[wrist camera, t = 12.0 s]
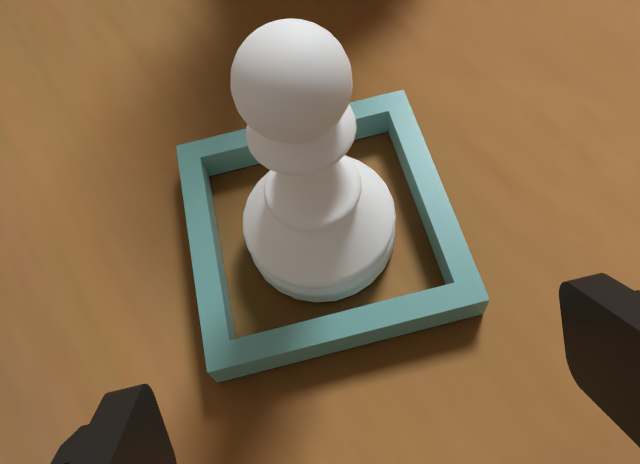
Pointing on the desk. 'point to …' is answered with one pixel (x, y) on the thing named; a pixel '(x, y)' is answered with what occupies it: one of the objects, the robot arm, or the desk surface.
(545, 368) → the desk surface
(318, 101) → the chess pawn
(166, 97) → the desk surface
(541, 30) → the desk surface
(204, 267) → the frame
